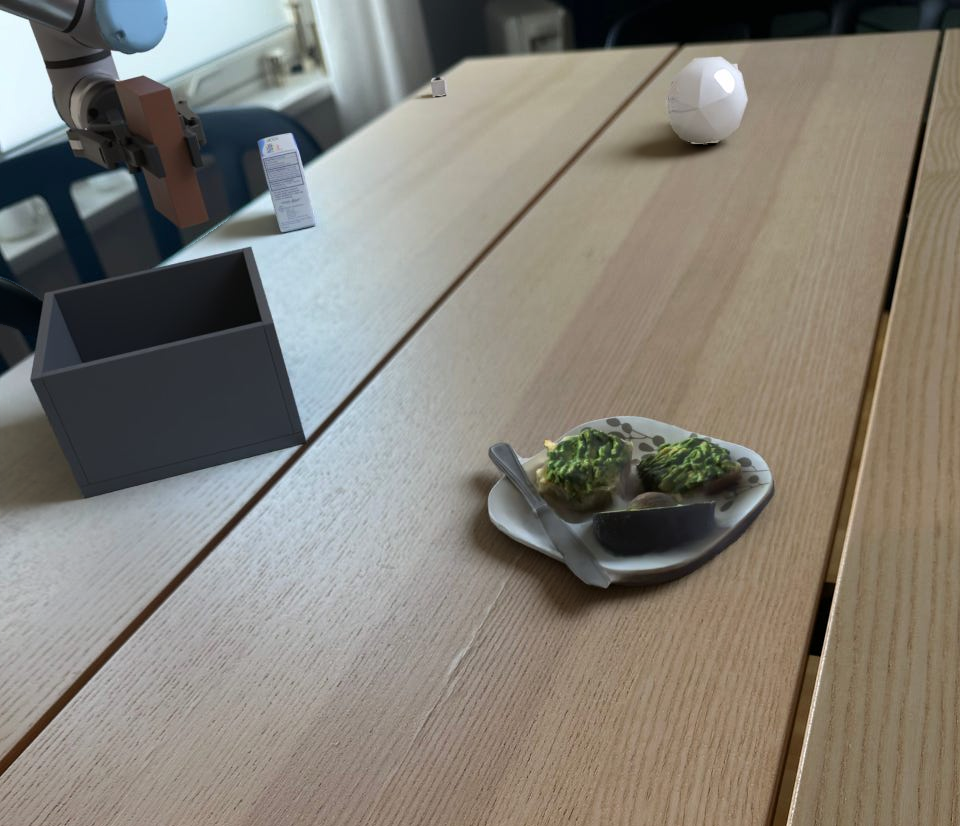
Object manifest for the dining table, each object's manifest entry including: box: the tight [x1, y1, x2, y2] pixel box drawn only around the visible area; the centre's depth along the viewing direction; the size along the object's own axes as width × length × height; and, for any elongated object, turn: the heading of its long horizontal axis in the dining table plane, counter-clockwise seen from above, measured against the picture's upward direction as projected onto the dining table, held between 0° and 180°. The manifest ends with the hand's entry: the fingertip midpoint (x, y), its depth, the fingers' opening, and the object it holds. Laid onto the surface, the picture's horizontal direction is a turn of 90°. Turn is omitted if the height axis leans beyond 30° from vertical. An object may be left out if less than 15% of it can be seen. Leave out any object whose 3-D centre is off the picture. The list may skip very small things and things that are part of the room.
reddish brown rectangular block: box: [115, 74, 210, 230], centre depth 100 cm, size 3×9×12 cm, turn 30°
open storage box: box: [29, 246, 307, 499], centre depth 83 cm, size 18×18×10 cm
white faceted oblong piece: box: [665, 56, 749, 143], centre depth 123 cm, size 9×10×15 cm
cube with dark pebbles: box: [430, 76, 448, 97], centre depth 158 cm, size 2×2×2 cm
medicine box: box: [257, 132, 317, 233], centre depth 119 cm, size 8×4×9 cm, turn 13°
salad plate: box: [487, 415, 776, 589], centre depth 67 cm, size 19×18×5 cm
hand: (176, 157), depth 96 cm, fingers closed on reddish brown rectangular block, 3 cm apart
